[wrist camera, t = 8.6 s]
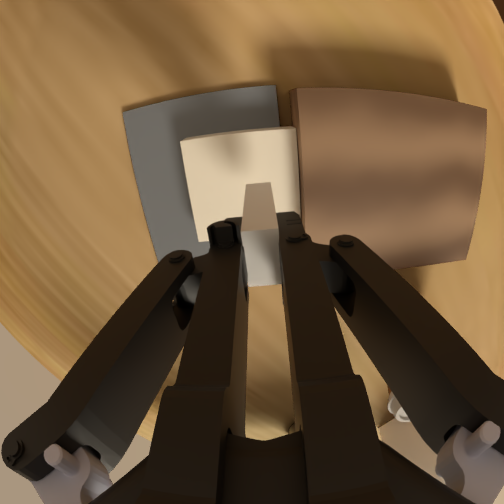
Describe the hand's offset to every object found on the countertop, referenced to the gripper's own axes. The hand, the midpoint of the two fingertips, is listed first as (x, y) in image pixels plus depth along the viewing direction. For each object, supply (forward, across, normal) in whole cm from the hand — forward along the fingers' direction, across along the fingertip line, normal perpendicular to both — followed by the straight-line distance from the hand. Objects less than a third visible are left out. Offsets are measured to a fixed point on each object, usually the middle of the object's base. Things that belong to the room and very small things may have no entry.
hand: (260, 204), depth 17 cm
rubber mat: (+5, +4, 0) cm, 7 cm away
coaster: (+5, +1, 0) cm, 5 cm away
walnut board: (+5, -11, 0) cm, 12 cm away
